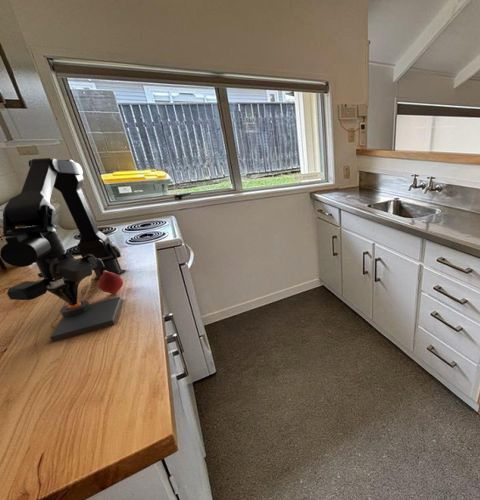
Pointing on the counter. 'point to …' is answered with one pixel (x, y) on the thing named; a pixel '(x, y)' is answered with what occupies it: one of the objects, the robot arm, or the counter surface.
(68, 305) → the tare button
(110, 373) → the counter surface
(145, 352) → the counter surface
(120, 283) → the onion
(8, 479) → the counter surface
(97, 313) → the scale
